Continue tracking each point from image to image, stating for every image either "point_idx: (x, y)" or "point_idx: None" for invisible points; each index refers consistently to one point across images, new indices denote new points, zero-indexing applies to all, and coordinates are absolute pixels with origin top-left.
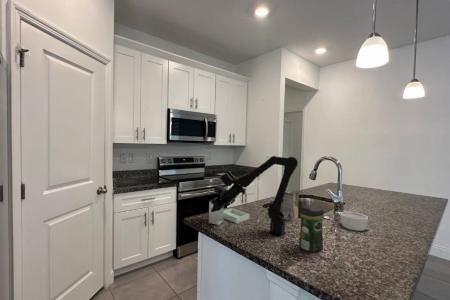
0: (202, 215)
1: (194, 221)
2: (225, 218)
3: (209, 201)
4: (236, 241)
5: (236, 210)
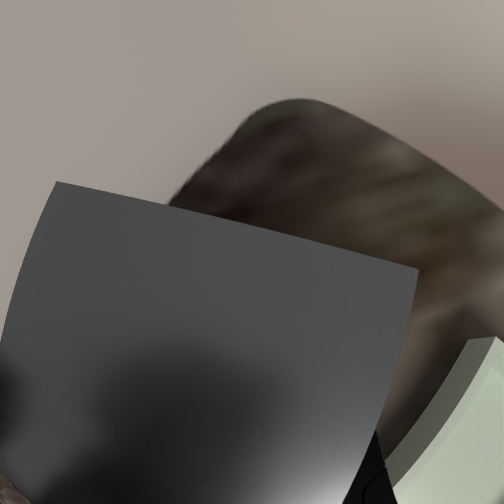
0: (429, 170)
1: (247, 154)
2: (407, 436)
3: (54, 195)
4: (15, 489)
5: None
